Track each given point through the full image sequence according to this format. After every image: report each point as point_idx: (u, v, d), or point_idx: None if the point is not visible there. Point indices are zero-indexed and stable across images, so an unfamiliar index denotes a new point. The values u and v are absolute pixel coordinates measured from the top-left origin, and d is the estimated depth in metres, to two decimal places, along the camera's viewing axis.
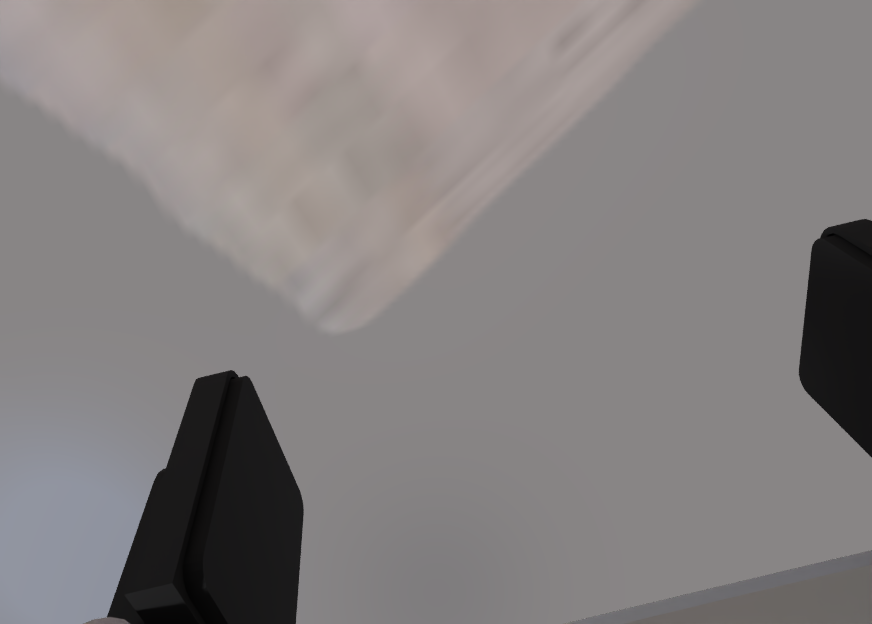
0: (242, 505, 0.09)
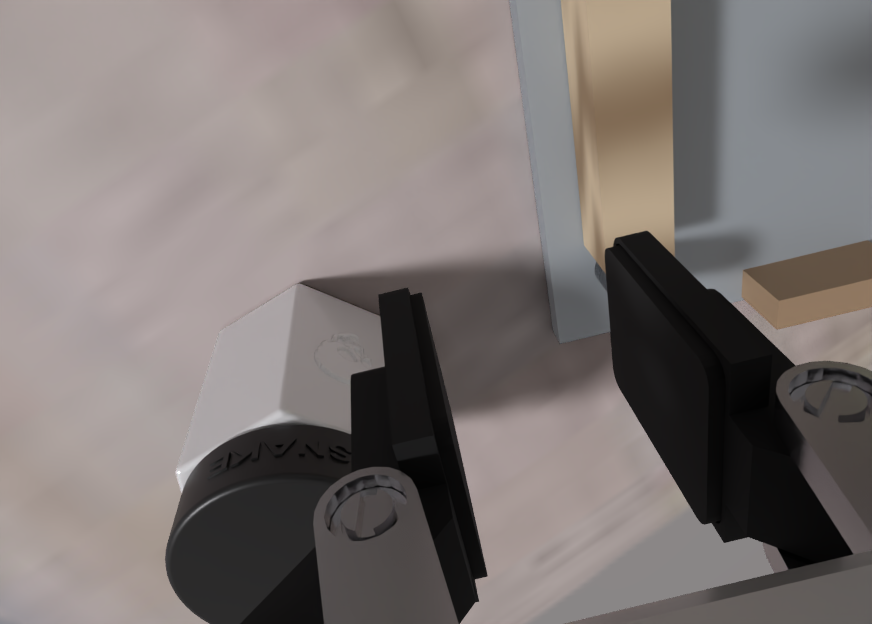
0: (444, 395, 0.10)
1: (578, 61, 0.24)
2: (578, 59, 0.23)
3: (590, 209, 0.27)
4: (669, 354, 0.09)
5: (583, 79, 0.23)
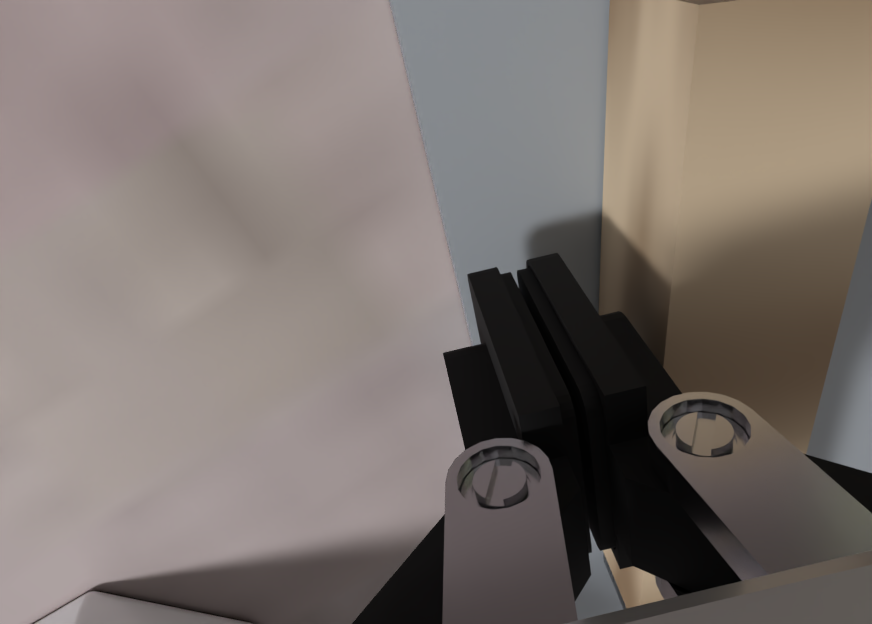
0: None
1: (632, 252, 0.11)
2: (634, 249, 0.11)
3: None
4: (562, 381, 0.09)
5: (641, 293, 0.11)
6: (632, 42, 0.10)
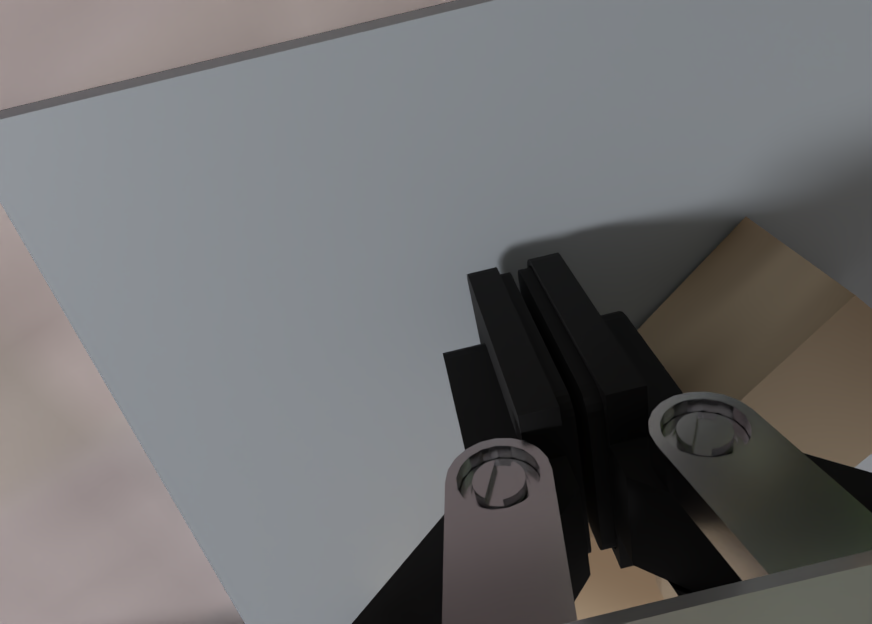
0: None
1: None
2: None
3: None
4: (563, 380, 0.09)
5: None
6: (746, 270, 0.11)
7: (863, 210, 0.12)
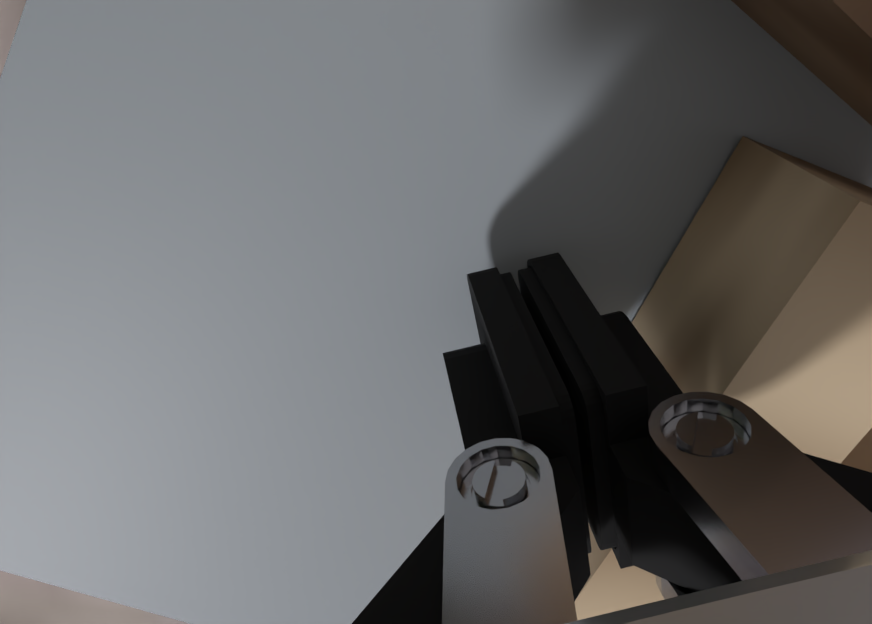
0: None
1: None
2: None
3: None
4: (563, 380, 0.09)
5: None
6: (750, 194, 0.10)
7: (427, 34, 0.10)
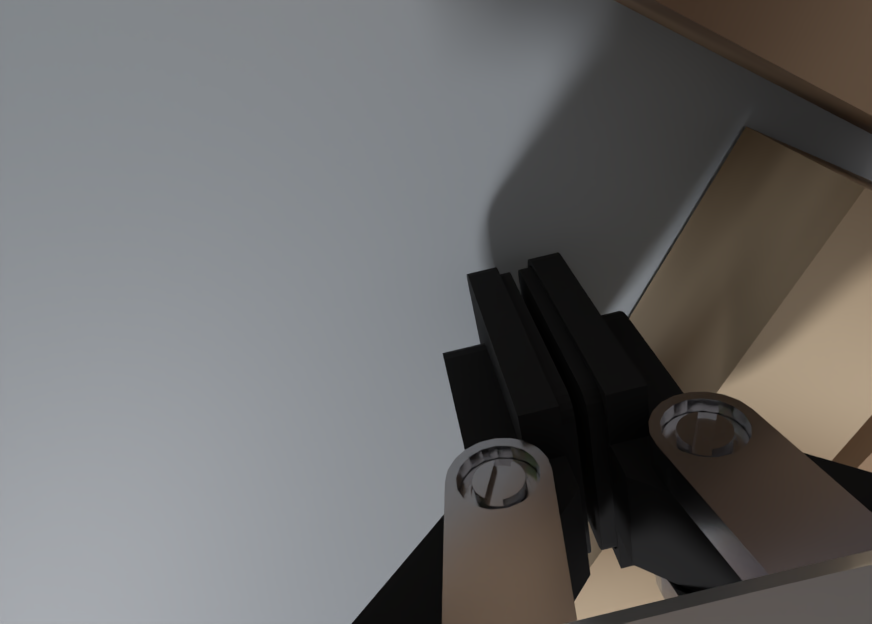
0: None
1: (662, 361, 0.11)
2: (666, 358, 0.11)
3: None
4: (564, 380, 0.09)
5: None
6: (754, 183, 0.10)
7: (251, 60, 0.10)
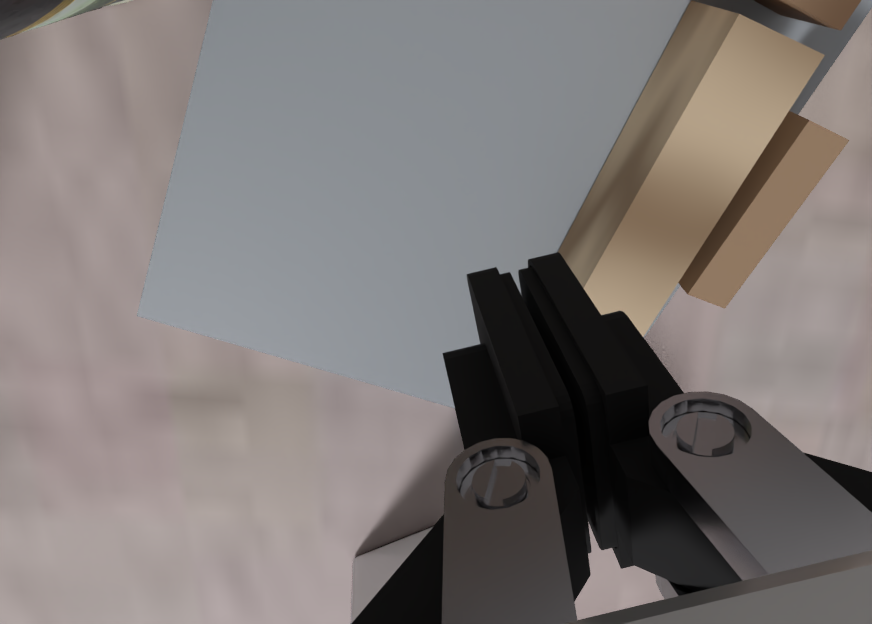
0: None
1: (641, 138, 0.20)
2: (643, 136, 0.20)
3: None
4: (564, 380, 0.09)
5: (637, 160, 0.20)
6: (692, 29, 0.19)
7: None
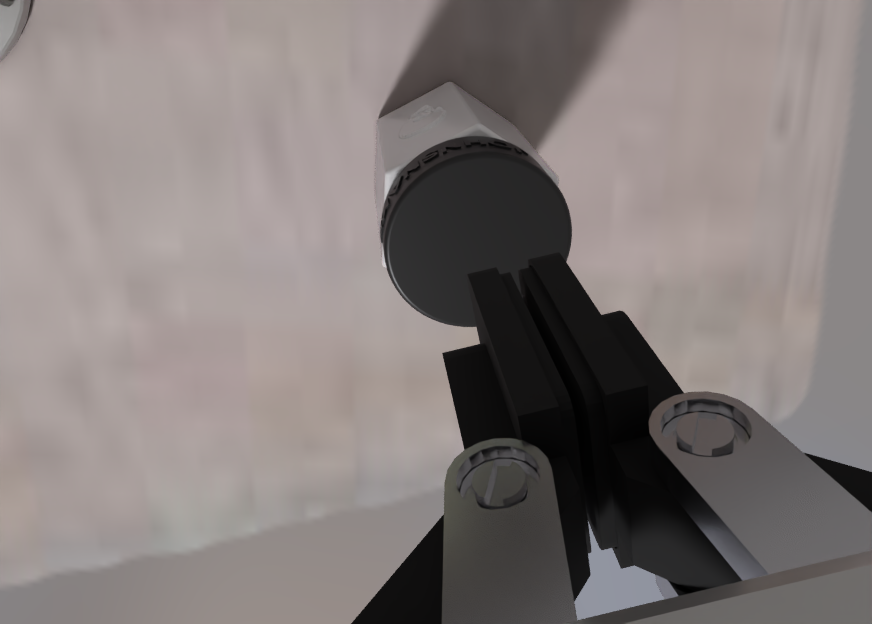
0: None
1: None
2: None
3: None
4: (564, 380, 0.09)
5: None
6: None
7: None
